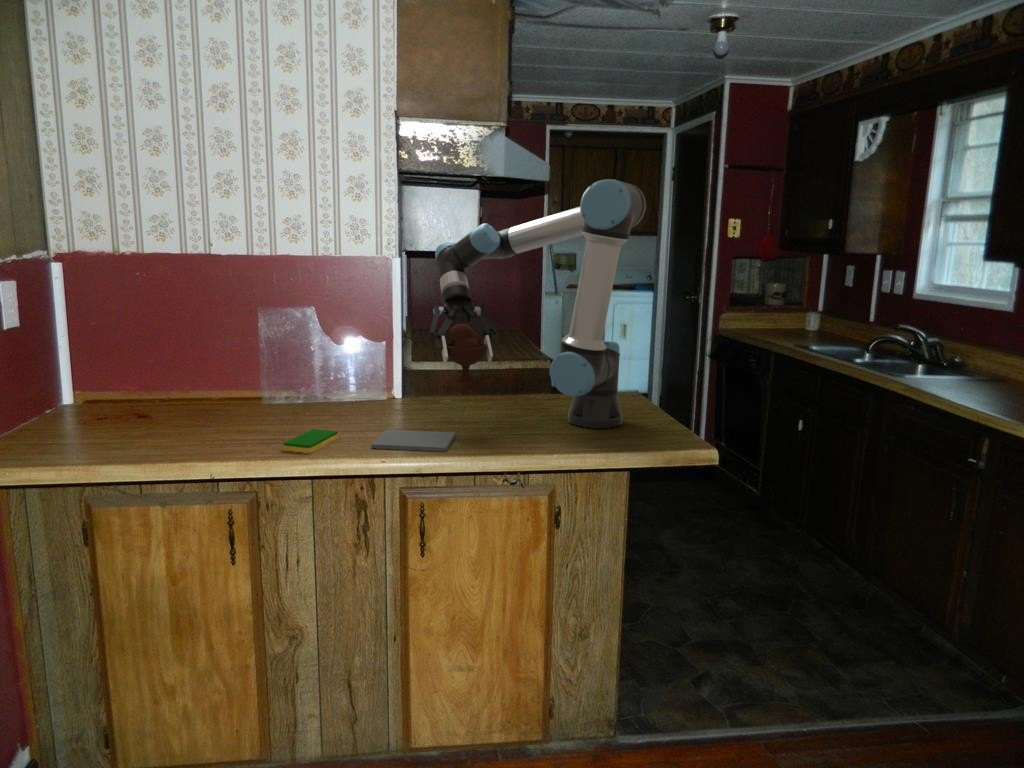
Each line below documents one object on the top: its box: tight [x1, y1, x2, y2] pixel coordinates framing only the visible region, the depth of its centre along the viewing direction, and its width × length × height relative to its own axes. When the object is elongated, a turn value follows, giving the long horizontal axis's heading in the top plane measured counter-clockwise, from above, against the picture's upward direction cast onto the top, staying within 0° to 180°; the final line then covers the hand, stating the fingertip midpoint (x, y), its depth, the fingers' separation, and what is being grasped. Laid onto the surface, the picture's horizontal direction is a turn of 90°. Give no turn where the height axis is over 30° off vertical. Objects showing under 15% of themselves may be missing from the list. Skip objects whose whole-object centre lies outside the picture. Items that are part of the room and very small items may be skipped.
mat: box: [370, 429, 456, 453], centre depth 184 cm, size 18×14×1 cm
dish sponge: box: [282, 428, 339, 454], centre depth 180 cm, size 7×14×2 cm, turn 166°
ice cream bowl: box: [446, 323, 487, 384], centre depth 191 cm, size 11×11×15 cm
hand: (468, 359), depth 189 cm, fingers closed on ice cream bowl, 11 cm apart
